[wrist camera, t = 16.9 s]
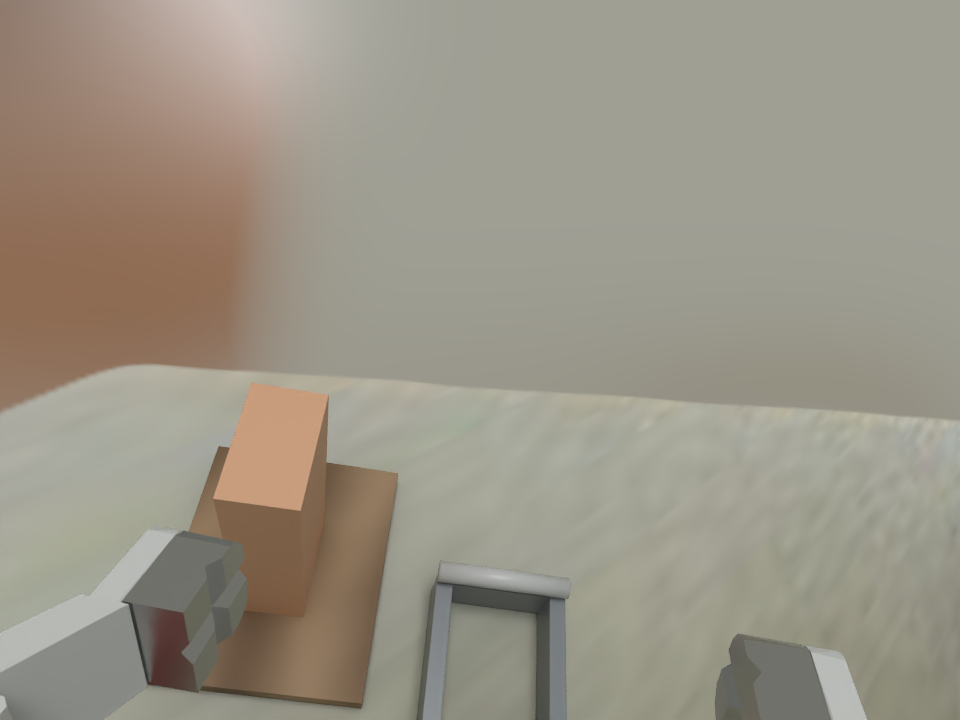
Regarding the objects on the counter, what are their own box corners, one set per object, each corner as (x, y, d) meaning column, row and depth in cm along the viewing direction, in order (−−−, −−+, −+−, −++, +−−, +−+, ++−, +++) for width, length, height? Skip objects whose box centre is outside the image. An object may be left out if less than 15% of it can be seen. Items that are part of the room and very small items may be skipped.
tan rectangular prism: (324, 522, 36) (328, 394, 27) (303, 617, 33) (300, 510, 24) (266, 514, 36) (251, 382, 27) (240, 610, 33) (212, 498, 24)
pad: (396, 481, 40) (398, 473, 39) (360, 708, 32) (362, 703, 32) (220, 455, 39) (218, 446, 38) (141, 683, 31) (137, 678, 30)
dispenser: (551, 598, 37) (570, 575, 35) (551, 784, 32) (574, 774, 29) (432, 582, 37) (441, 557, 34) (411, 770, 31) (420, 758, 28)
